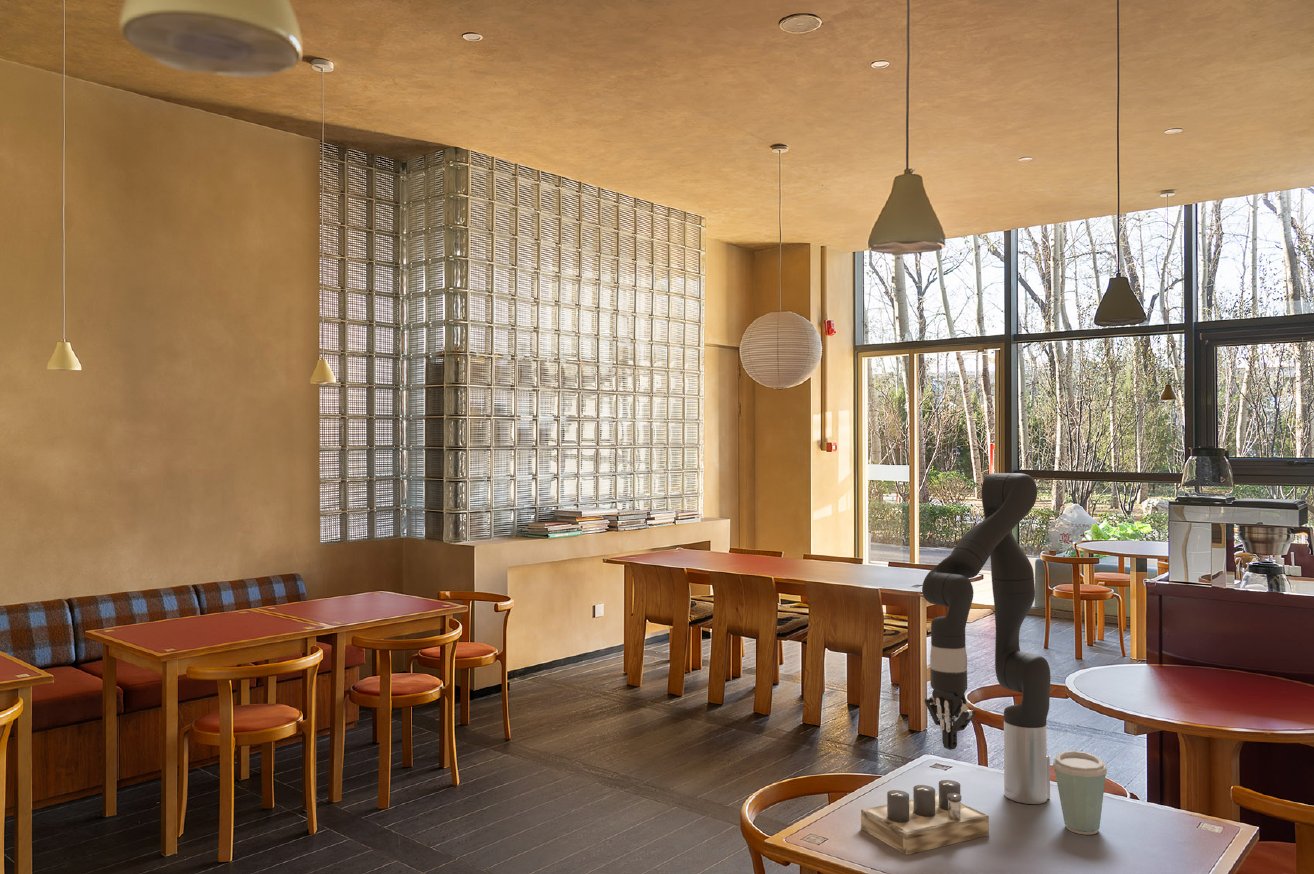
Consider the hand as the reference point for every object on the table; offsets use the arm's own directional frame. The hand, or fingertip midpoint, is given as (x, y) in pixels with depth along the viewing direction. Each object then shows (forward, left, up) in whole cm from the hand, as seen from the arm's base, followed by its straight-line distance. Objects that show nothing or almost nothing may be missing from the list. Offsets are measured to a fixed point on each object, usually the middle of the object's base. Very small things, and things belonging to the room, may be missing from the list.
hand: (949, 748), depth 193 cm
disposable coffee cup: (-24, +13, -17) cm, 32 cm away
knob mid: (+7, 0, -16) cm, 17 cm away
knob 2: (0, 0, -16) cm, 16 cm away
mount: (+7, 0, -17) cm, 18 cm away
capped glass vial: (+4, +5, -13) cm, 14 cm away
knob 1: (+14, 0, -16) cm, 21 cm away
